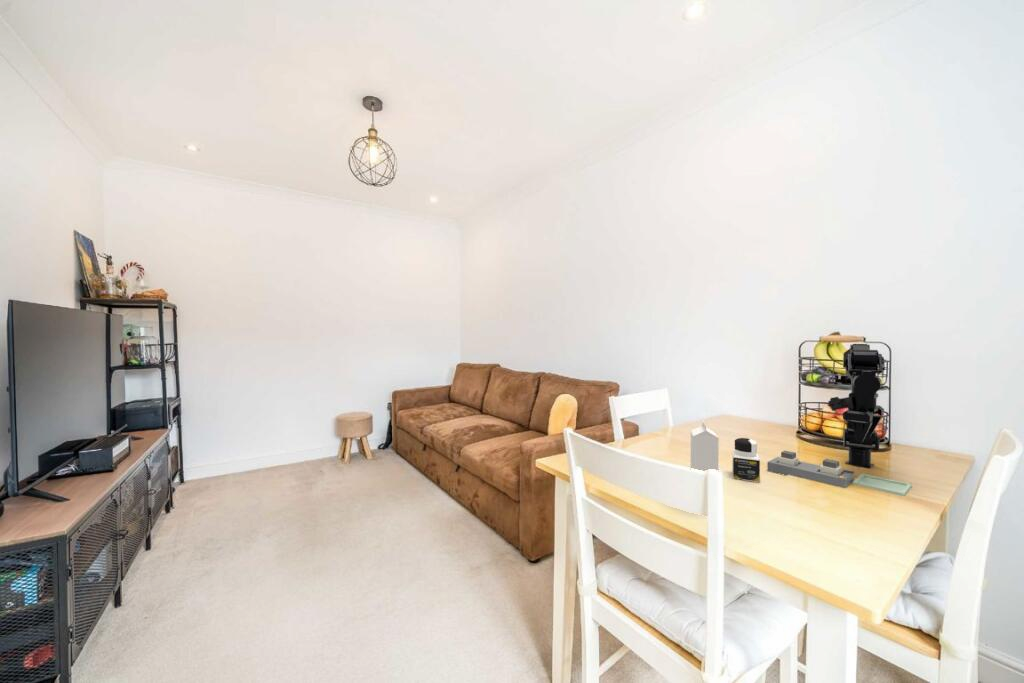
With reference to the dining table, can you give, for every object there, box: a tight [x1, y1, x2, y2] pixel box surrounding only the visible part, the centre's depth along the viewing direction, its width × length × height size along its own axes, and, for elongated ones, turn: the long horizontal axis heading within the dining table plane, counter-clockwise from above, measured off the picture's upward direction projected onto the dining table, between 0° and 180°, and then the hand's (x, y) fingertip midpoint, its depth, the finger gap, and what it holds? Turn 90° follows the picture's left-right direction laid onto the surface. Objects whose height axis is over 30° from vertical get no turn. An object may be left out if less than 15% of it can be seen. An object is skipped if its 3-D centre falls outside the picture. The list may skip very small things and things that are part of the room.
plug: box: [820, 458, 843, 476], centre depth 120 cm, size 4×4×6 cm
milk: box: [690, 419, 720, 471], centre depth 104 cm, size 6×6×22 cm
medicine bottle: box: [731, 437, 761, 483], centre depth 124 cm, size 7×7×12 cm
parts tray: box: [852, 473, 913, 497], centre depth 115 cm, size 11×11×1 cm
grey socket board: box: [767, 456, 855, 489], centre depth 124 cm, size 9×20×3 cm, turn 37°
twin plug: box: [778, 450, 799, 467], centre depth 129 cm, size 4×4×6 cm
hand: (863, 440), depth 122 cm, fingers open, 9 cm apart
